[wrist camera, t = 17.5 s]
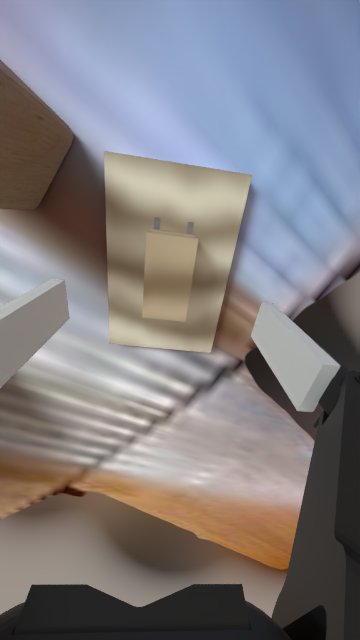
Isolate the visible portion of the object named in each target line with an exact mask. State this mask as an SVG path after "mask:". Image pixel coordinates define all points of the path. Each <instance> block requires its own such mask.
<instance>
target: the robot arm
mask: <svg viewBox="0 0 360 640" xmlns="http://www.w3.org/2000/svg"><path fill="white" fill-rule="evenodd" d="M68 319H69V311H68V303H67V295H66V287H65V280H59V279H51V280H49V281H47V282H45V283H43V284H42V285H40V286H38V287H36V288H34V289H32V290H30V291H29V292H27V293H25V294H23V295H21V296H19V297H18V298H16V299H14V300H12V301H10V302H8V303H6V304H5V305H3V306H1V307H0V388H1V387H2V386H3V385H4V384H5V383H6V382H7V381H8V380H9V379H10V378H11V377H12V376H13V375H14V374H15V373H16V372H17V371H18V370H19V369H20V368H21V367H22V366H23V365H24V364H25V363H26V362H27V361H28V360H29V359H30V358H31V357H32V356H33V355H34V354H35V353H36V352H37V351H38V350H39V349H40V348H41V347H42V346H43V345H44V344H45V343H46V342H47V341H48V340H49V339H50V338H51V337H52V336H53V335H54V334H55V333H56V332H57V331H58V330H59V329H60V328H61V327H62V326H63V325H64V324H65V322H66V321H67V320H68ZM251 337H252V339H253V340H254V342H255V344H256V345H257V347H258V348H259V350H260V352H261V353H262V355H263V356H264V358H265V360H266V361H267V363H268V364H269V366H270V367H271V369H272V371H273V373H274V374H275V376H276V377H277V378H278V381H279V382H280V384H281V385H282V387H283V388H284V390H285V392H286V393H287V395H288V397H289V398H290V400H291V401H292V403H293V405H294V406H295V408H296V409H297V411H305V412H313V411H314V410H315V408H316V406H317V404H318V403H320V405H321V406H322V407H323V408H324V410H323V412H322V413H321V415H320V417H319V418H318V420H317V421H316V423H315V425H314V427H315V428H316V427H317V426H318V429H317V434H316V438H315V443H314V448H313V453H312V457H311V462H310V467H309V472H308V477H307V481H306V486H305V491H304V496H303V500H302V505H301V510H300V515H299V520H298V524H297V529H296V534H295V539H294V543H293V548H292V553H291V558H290V563H289V567H288V572H287V576H286V580H285V583H284V586H283V588H282V590H281V592H280V594H279V597H278V599H277V602H276V605H275V607H274V611H273V614H272V618H270V617H269V616H268V615H267V614H265V613H264V612H263V611H262V610H260V609H259V608H257V607H256V606H254V605H253V604H251V603H249V602H247V601H245V598H244V593H243V587H242V584H193V585H191V586H189V587H187V588H184V589H182V590H180V591H178V592H175V593H173V594H171V595H169V596H166V597H164V598H162V599H159V600H157V601H155V602H153V603H151V604H148V605H146V606H143V607H134V606H132V605H130V604H128V603H126V602H124V601H121V600H119V599H117V598H115V597H113V596H110V595H108V594H106V593H104V592H101V591H99V590H97V589H95V588H93V587H90V586H88V585H32V586H31V588H30V591H29V593H28V596H27V599H26V601H25V602H24V603H21V604H19V605H17V606H15V607H13V608H12V609H10V610H8V611H6V612H4V613H2V614H1V615H0V640H360V373H359V372H355V371H349V370H348V369H347V368H345V367H344V366H343V365H342V364H341V363H340V362H339V361H338V360H337V359H335V358H334V357H332V355H331V354H330V353H329V352H327V350H325V349H324V348H323V347H322V346H321V345H320V344H318V343H316V342H315V341H313V340H312V339H311V338H310V337H309V336H307V334H305V333H304V332H303V331H302V330H301V329H300V328H299V327H298V326H297V325H296V324H295V323H293V322H292V321H291V320H290V319H289V318H288V317H287V316H286V315H285V314H284V313H283V312H281V311H280V310H279V309H278V308H277V307H276V306H275V305H274V304H273V303H265V302H262V303H261V306H260V310H259V313H258V316H257V319H256V322H255V325H254V328H253V331H252V334H251Z"/></svg>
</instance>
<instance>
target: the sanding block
mask: <svg viewBox="0 0 360 640" xmlns="http://www.w3.org/2000/svg"><path fill="white" fill-rule="evenodd" d="M197 246H198V239H197V238H196V237H195V236H194V235H193V234H186V233H179V232H171V231H164V230H157V229H151V230H150V231H148V232H147V233H146V252H145V272H144V291H143V311H142V318H152V319H162V320H172V321H181V322H186V316H187V310H188V303H189V297H190V290H191V284H192V278H193V271H194V265H195V258H196V252H197Z"/></svg>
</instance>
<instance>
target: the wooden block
mask: <svg viewBox="0 0 360 640" xmlns="http://www.w3.org/2000/svg"><path fill="white" fill-rule="evenodd" d="M72 142H73V133H72V132H71V130H70V128H69V126H68V125H67V124H66V123H65V122H64V121H63V120H62V119H61V118H60V117H59V116H58V115H57V114H56V113H55V112H54V111H53V110H52V109H51V108H50V107H49V106H47V105H46V104H45V103H44V102H43V101H42V100H41V99H40V98H39V97H38V96H37V95H36V94H35V93H34V92H33V91H32V90H31V89H30V88H29V87H28V86H27V85H26V84H25V83H24V82H23V81H22V80H21V79H20V78H19V77H18V76H17V75H15V74H14V73H13V72H12V71H11V70H10V69H9V68H8V67H7V66H6V65H5V64H4V63H3V62H2V61H1V60H0V209H26V210H33V209H35V208H37V207H38V206H39V204H40V202H41V201H42V199H43V197H44V195H45V193H46V191H47V189H48V187H49V186H50V184H51V182H52V180H53V178H54V176H55V174H56V172H57V171H58V169H59V167H60V165H61V163H62V161H63V159H64V157H65V156H66V154H67V152H68V150H69V148H70V146H71V144H72Z"/></svg>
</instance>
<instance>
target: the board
mask: <svg viewBox="0 0 360 640" xmlns="http://www.w3.org/2000/svg"><path fill="white" fill-rule="evenodd" d="M104 170H105V204H106V238H107V272H108V305H109V339H110V344H118V345H129V346H140V347H151V348H162V349H173V350H185V351H196V352H207V353H211V349H212V345H213V340H214V336H215V332H216V328H217V323H218V319H219V315H220V311H221V306H222V302H223V298H224V293H225V289H226V285H227V281H228V276H229V272H230V268H231V263H232V259H233V255H234V251H235V246H236V242H237V238H238V234H239V229H240V225H241V221H242V216H243V212H244V208H245V204H246V199H247V195H248V191H249V186H250V182H251V178H252V175H250V174H243V173H237V172H231V171H225V170H219V169H212V168H206V167H200V166H194V165H188V164H181V163H175V162H169V161H163V160H157V159H151V158H144V157H138V156H132V155H126V154H120V153H113V152H107V151H104ZM151 229H157V230H164V231H171V232H179V233H186V234H193V235H194V236H195V237H196V238H197V239H198V246H197V252H196V258H195V265H194V271H193V278H192V284H191V290H190V297H189V303H188V310H187V316H186V322H181V321H172V320H162V319H152V318H142V311H143V291H144V272H145V252H146V233H147V232H148V231H150V230H151Z"/></svg>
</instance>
